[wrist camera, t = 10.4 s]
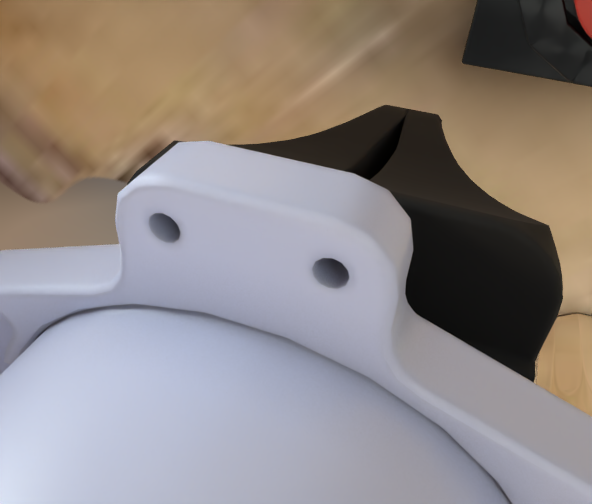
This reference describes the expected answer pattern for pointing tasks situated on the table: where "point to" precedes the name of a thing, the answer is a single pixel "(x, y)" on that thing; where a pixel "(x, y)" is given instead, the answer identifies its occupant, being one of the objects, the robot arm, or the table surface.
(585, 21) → the release button
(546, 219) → the table surface
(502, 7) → the black button base
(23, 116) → the table surface
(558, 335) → the milkshake
